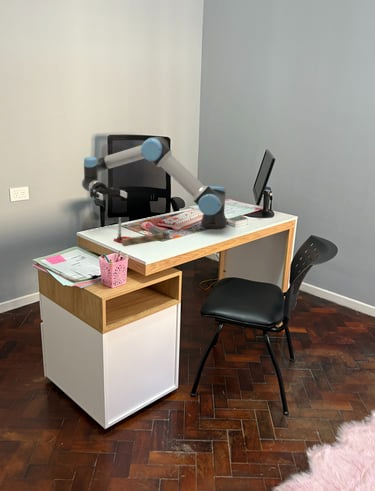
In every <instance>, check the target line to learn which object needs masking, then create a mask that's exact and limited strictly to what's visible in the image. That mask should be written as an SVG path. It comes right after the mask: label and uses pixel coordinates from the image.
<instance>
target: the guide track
mask: <svg viewBox="0 0 375 491" xmlns="http://www.w3.org/2000/svg"><path fill="white" fill-rule="evenodd" d="M147 231H149V232H148V233H150V232H151V233H152V234H151V233H150V234H147V235H141V236H133V237H131V238H126V239H122V243H121V244H122V246H124V247H125V246H133V245H137V244H138V245H139V244H145V243H149V242H151V243H152V242H156V241H161V240H162V241H164V240H169V239H170V232H168V231H166V230H164V229H162V228H160V227H158V226H156V225H150V226H147ZM163 239H164V240H163Z"/></svg>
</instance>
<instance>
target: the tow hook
mask: <svg viewBox="0 0 375 491" xmlns="http://www.w3.org/2000/svg"><path fill="white" fill-rule="evenodd" d="M121 220H122V218H121V217H119V218H118V228H117V229H118V230H117V231H118V232H117V237H115V238H113V241H114V242H116V243H120V244H122V239H126V238H132V237H131V236H122V221H121Z"/></svg>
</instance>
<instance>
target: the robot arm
mask: <svg viewBox="0 0 375 491" xmlns="http://www.w3.org/2000/svg"><path fill="white" fill-rule="evenodd" d="M169 146H170V145H169V142H168V141H167V140H166V139H165V138H164V137H163V136H154V137H148V138H147V139H146V140H145V141H144V142H143V143H142V144H140V145H137V146H135V147H131V148H128V149H125V150H122V151H118V152H116V153H115V152H114V153H112V154H108V155H105V156H103V157H102V156H101V157H98V158H97V157H95V156H94V157H93V156H86V157H84V159H83V175H84V177H83V179H82V181H81V186H82V188H83V189H84V190H85V191H86V192H89V196H90V197H89V198H93V199H95V200H96V199H99V200H100V201H104V195H119V196H121V197H123V198H125V199H127V198H128V192H126V189H124V188H118V187H113V186H112V187H107V185H106V184H105V183H103V182H101V181H99V180H98V176H99V175H98V174H99V173H100V172H103V171H106V170H110V169H113V168H116V167H120V166H124V165H126V164H131V163H133V162H136V161H140V160H143V159H145V160H147V162H152V164H153V165H155V166H156V167H159V168H160V167H161V168H162V169H163V170H164V171H165V172H166V173H167V174H168V175H169V176H170V177H171V178H173V180H175V182H176V183H178V184H179V186H181V187H182V188H183V189H184V190H185V191H186V192H187V193H188V194H189V195H190V196H191V197H192V199H193V202H194V203H195V204H196V205H197V207H198V210H199V211H200V212H201V213H202V217H201V219H200V226H201V227H202V228H206V229H212V230H219V229H225V228H226V227H227V224H228V222H227V218H226V214H225V207H226V206H225V204H226V193H227V191H226V188H225V186H218V185H217V186H215V185H214V186H213V185H204V184H203V183H202V182H201V181H200V180H199V179H198V177H196V176H194V174H192V172H191V171H189V170H188V169H187V168H186V166H184V165H183V164H182V163H181V162H180V161H179V160H178V159H177V158H176V157H175V156H174V155H173V151H172V150H171V148H169Z"/></svg>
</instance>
